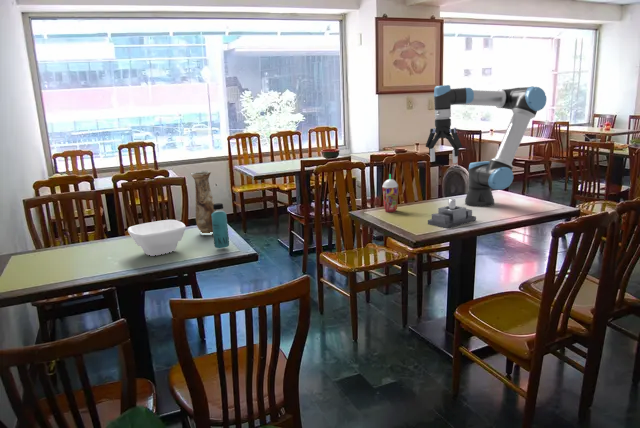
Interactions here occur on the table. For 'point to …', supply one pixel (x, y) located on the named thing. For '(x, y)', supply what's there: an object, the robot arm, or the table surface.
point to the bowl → (158, 236)
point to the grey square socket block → (453, 213)
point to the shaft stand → (444, 219)
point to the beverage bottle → (220, 227)
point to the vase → (203, 201)
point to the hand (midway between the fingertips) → (443, 162)
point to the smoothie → (390, 195)
